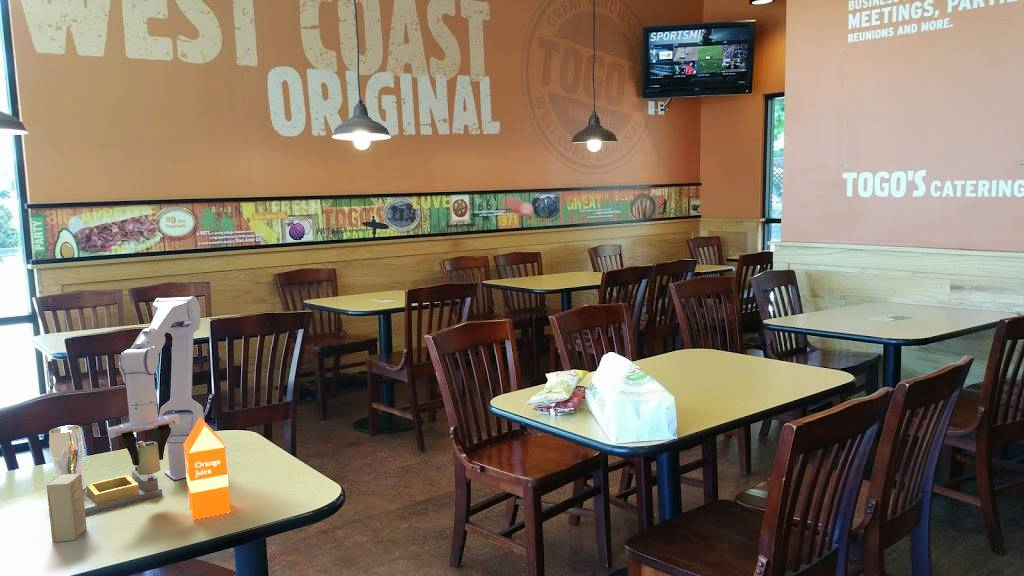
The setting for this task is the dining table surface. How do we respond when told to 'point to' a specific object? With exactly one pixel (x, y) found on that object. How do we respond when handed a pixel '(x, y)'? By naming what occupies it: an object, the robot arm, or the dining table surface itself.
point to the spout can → (148, 458)
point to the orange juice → (206, 472)
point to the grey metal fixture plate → (120, 491)
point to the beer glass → (67, 450)
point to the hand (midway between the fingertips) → (148, 461)
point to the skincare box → (66, 507)
